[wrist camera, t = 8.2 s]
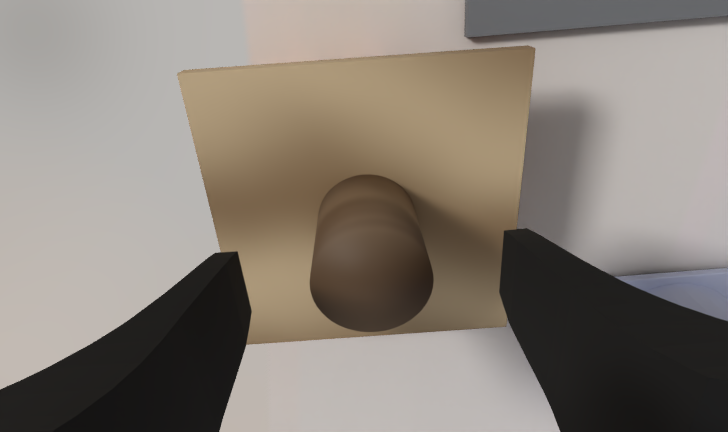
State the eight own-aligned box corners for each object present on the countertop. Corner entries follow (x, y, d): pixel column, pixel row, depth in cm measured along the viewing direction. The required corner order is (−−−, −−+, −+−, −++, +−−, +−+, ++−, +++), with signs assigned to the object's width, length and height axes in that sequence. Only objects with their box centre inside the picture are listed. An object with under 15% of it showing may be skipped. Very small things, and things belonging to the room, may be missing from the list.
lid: (501, 316, 18) (542, 405, 14) (247, 333, 18) (219, 427, 14) (528, 45, 13) (599, 70, 9) (183, 70, 13) (117, 104, 9)
